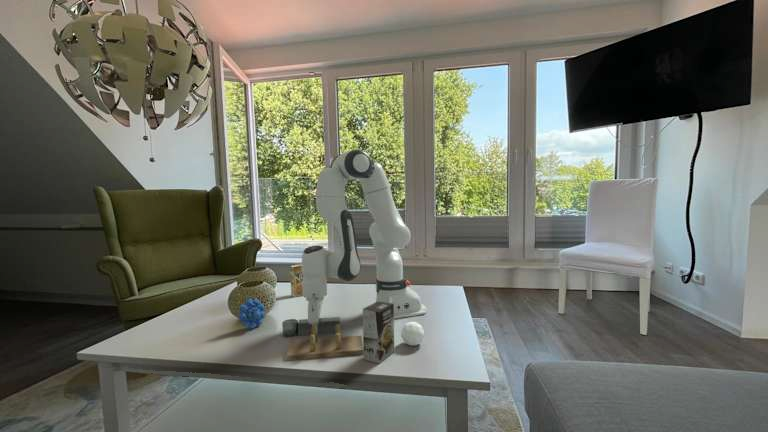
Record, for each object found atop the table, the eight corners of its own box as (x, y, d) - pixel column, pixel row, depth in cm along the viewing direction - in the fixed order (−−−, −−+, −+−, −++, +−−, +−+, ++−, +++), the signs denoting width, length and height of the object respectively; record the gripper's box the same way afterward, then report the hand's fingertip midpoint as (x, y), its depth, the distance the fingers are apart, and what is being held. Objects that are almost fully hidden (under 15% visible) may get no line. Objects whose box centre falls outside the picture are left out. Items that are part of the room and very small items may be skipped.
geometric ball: (419, 353, 119) (429, 339, 115) (397, 347, 118) (406, 332, 113) (418, 334, 125) (427, 320, 121) (397, 328, 124) (406, 314, 120)
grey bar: (340, 327, 135) (339, 316, 135) (339, 333, 130) (339, 321, 130) (284, 331, 133) (283, 319, 133) (281, 337, 127) (281, 325, 127)
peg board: (361, 339, 124) (360, 321, 124) (363, 354, 113) (362, 334, 113) (291, 344, 121) (290, 326, 121) (286, 360, 110) (285, 340, 110)
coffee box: (380, 364, 107) (379, 312, 106) (362, 359, 110) (361, 308, 109) (395, 351, 115) (394, 303, 113) (378, 347, 118) (377, 300, 117)
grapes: (247, 336, 129) (245, 304, 128) (235, 332, 133) (233, 301, 132) (272, 325, 139) (271, 295, 138) (261, 322, 142) (259, 293, 141)
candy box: (294, 297, 174) (292, 266, 172) (290, 295, 177) (289, 265, 176) (310, 294, 179) (309, 264, 177) (307, 292, 182) (306, 262, 181)
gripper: (321, 298, 121) (323, 338, 122) (324, 282, 141) (325, 316, 142) (302, 299, 120) (304, 339, 121) (308, 283, 140) (309, 317, 141)
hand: (316, 326), depth 132 cm, fingers open, 7 cm apart
